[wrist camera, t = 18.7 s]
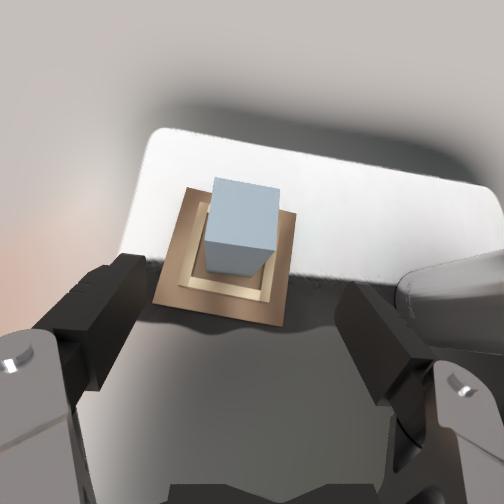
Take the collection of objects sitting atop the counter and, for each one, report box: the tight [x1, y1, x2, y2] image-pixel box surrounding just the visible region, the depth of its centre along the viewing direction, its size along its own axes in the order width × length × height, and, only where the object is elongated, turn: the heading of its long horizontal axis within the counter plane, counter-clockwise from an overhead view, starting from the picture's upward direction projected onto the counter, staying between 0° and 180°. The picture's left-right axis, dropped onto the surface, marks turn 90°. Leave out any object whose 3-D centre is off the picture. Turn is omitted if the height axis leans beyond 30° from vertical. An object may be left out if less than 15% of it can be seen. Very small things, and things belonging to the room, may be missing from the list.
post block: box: [204, 177, 280, 278], centre depth 20 cm, size 5×5×10 cm
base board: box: [152, 187, 296, 327], centre depth 25 cm, size 13×13×3 cm
